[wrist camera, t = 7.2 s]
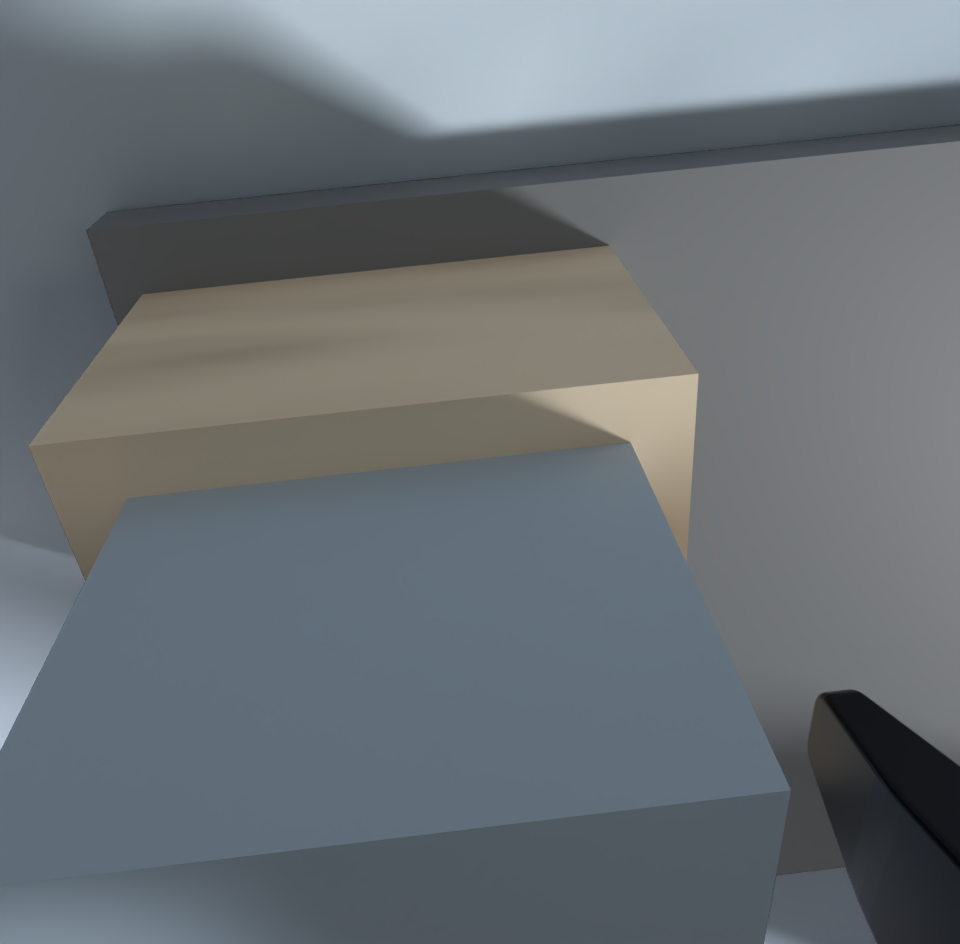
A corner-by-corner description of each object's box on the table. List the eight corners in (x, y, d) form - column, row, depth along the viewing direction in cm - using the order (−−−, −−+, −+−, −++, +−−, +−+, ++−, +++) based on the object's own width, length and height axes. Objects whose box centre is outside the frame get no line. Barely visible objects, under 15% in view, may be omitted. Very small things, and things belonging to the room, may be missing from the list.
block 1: (609, 599, 16) (671, 798, 13) (249, 641, 16) (202, 853, 12) (609, 245, 13) (698, 373, 9) (142, 294, 12) (28, 445, 9)
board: (985, 813, 23) (1007, 847, 22) (321, 893, 22) (318, 931, 22) (1259, 94, 13) (1318, 104, 12) (107, 211, 13) (86, 230, 12)
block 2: (626, 769, 12) (727, 1146, 8) (244, 816, 12) (171, 1218, 8) (630, 441, 9) (791, 791, 5) (127, 498, 9) (-74, 894, 5)
